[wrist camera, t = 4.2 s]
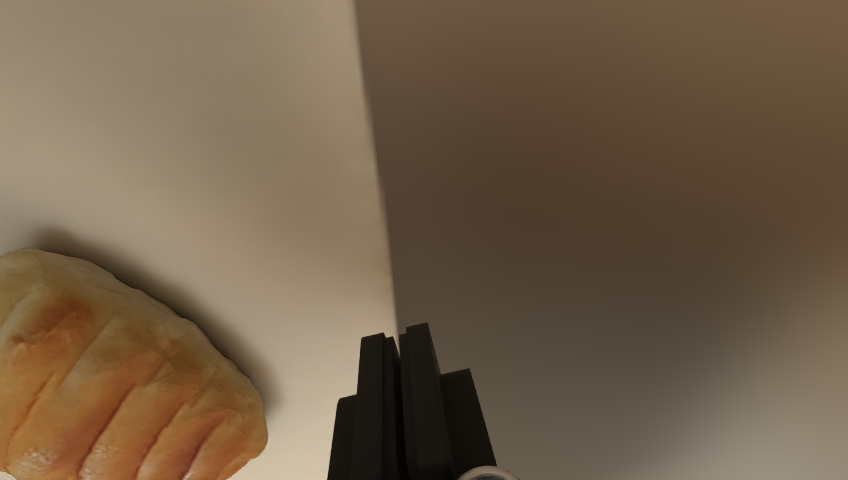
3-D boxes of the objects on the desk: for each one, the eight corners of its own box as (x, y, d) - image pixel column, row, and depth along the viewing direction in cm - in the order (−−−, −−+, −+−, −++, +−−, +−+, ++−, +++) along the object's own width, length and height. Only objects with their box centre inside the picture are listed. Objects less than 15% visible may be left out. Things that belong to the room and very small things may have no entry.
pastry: (314, 360, 15) (294, 453, 12) (225, 475, 17) (184, 585, 13) (26, 218, 12) (-116, 285, 9) (-44, 376, 14) (-184, 483, 11)
